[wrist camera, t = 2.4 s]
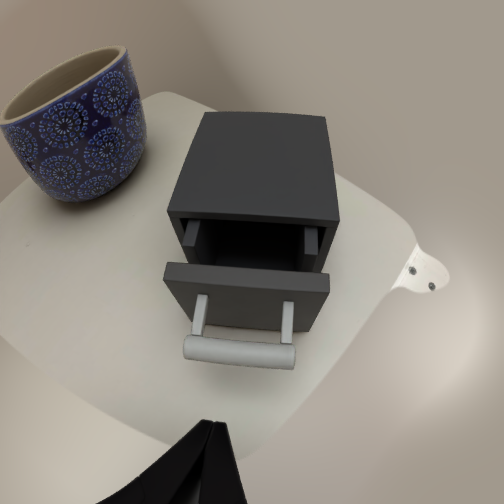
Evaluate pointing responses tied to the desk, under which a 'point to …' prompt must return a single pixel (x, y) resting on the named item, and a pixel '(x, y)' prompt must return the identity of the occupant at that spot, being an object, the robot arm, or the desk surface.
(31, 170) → the planter
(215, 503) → the robot arm
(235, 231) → the drawer
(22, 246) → the desk surface
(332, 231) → the cabinet
